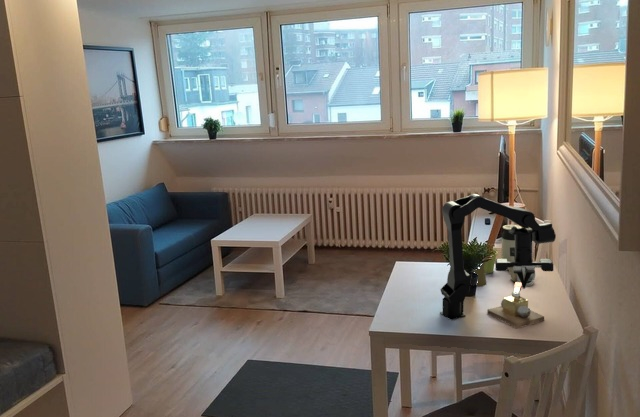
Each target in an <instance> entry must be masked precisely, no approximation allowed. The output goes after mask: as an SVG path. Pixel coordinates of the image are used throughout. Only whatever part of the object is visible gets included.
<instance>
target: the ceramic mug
mask: <svg viewBox="0 0 640 417" xmlns="http://www.w3.org/2000/svg"><path fill="white" fill-rule="evenodd" d="M534 270H535V271H536V268H535V269H534ZM522 271H523V278H524V273H525V267H522ZM509 276H510V279H511V281H513V282H520V283H521V281H520V278H519V277H518V275H517V273H514V272H513V267H510V270H509ZM535 279H536V272H535V273H532V274H531V276H530V278H529V280H528V282H527V284H526V287H530V286H532V285H533V283H534V281H535Z"/></svg>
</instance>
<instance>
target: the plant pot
mask: <svg viewBox="0 0 640 417" xmlns="http://www.w3.org/2000/svg"><path fill="white" fill-rule="evenodd" d="M493 250H494V251H495V255H494V256H492V257H493V259H492V260H490V261H488V262H486V263H485V265H484V268H485V274H491V273H493V272H494V268H495V260H496V257H497V255H498V251H497V250H496V249H493Z"/></svg>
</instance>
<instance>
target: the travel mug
mask: <svg viewBox="0 0 640 417" xmlns="http://www.w3.org/2000/svg"><path fill="white" fill-rule="evenodd" d="M513 226H514V227H517V228H523V227H521V226H519V225H517V224H506V225H503V226H502V228H503V232H502V233H501V258H500V259H507V262H515V260H514V256H510V247H515V235H513V234H511V233H509V232H508V231H509V230H510V229H512V228H513ZM506 271H510V267H508V269H507V270H506Z"/></svg>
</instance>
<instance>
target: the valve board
mask: <svg viewBox="0 0 640 417" xmlns="http://www.w3.org/2000/svg"><path fill="white" fill-rule="evenodd" d="M486 313H487V315H489V316H491V317H493V318H495V319H497V320H499V321H501V322H503V323H505V324H507V325H509V326H511V327H512V328H515V329H520V328H522V327H525V326H529V325H534V324H537V323H541V322H543V321H545V316H544V315H542V314H540V313H538V312H536V311H533V310H532V309H530V315H529V317H527V318H523V317H521V316H519V317H513V316H511V315H509V314H507V313H505V312H503V308H502V306H501V305H500V306H496V307H492V308H488V309H487V312H486Z"/></svg>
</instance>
